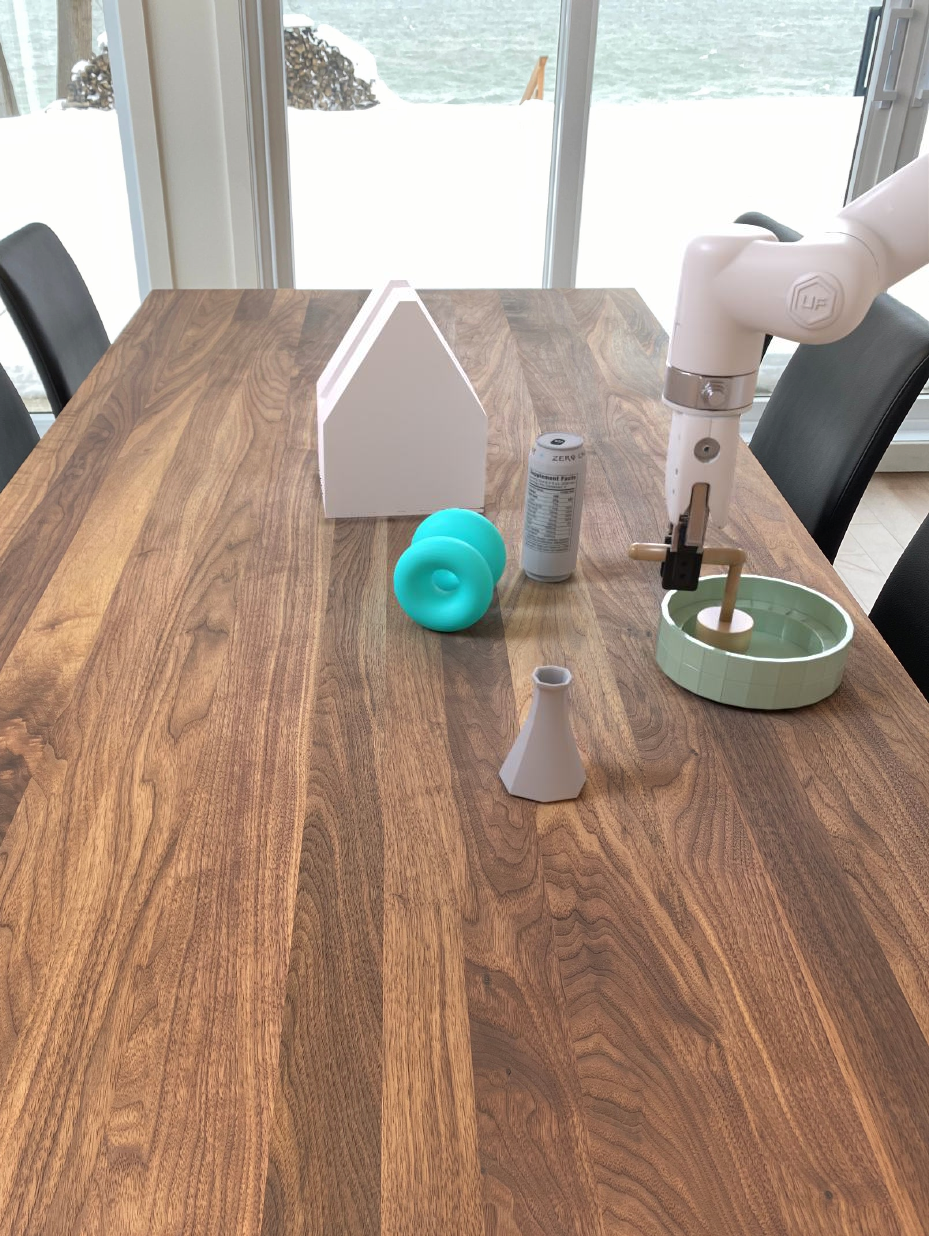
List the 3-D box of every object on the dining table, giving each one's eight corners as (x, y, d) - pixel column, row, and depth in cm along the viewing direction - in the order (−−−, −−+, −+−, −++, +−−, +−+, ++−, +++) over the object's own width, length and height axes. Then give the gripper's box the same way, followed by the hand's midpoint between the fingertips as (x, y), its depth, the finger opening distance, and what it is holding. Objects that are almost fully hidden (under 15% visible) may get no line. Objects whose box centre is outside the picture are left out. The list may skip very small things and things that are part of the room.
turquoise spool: (505, 597, 125) (511, 509, 119) (487, 642, 117) (493, 550, 111) (413, 586, 127) (415, 499, 121) (389, 630, 119) (390, 538, 113)
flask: (584, 756, 101) (596, 654, 95) (588, 807, 95) (602, 702, 89) (498, 751, 101) (505, 650, 96) (498, 802, 95) (505, 697, 90)
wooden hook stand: (745, 631, 114) (764, 538, 109) (752, 659, 110) (772, 563, 104) (615, 623, 116) (628, 531, 110) (617, 649, 112) (630, 555, 106)
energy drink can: (583, 567, 131) (598, 435, 122) (562, 589, 126) (575, 453, 118) (533, 556, 133) (544, 426, 125) (511, 576, 129) (520, 443, 120)
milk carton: (325, 518, 142) (319, 303, 128) (319, 471, 155) (313, 270, 141) (483, 512, 143) (495, 298, 129) (464, 465, 156) (473, 266, 142)
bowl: (822, 628, 119) (834, 579, 116) (857, 721, 105) (871, 667, 102) (649, 618, 121) (656, 569, 118) (660, 707, 107) (668, 655, 104)
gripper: (767, 418, 92) (728, 626, 103) (743, 360, 105) (711, 550, 116) (670, 414, 93) (640, 620, 104) (658, 357, 106) (633, 545, 116)
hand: (678, 582), depth 110 cm, fingers closed on wooden hook stand, 1 cm apart
